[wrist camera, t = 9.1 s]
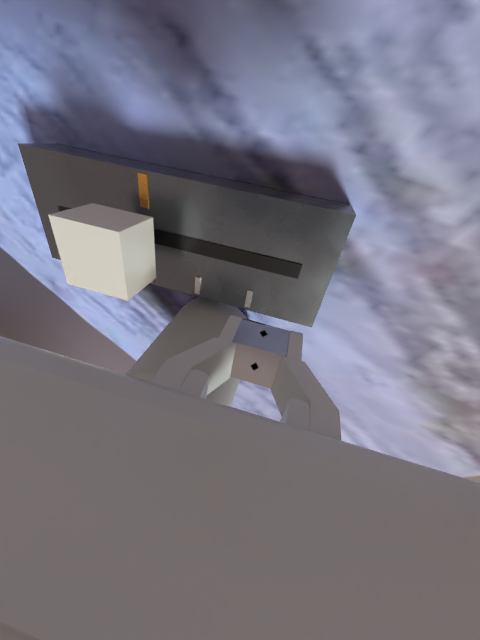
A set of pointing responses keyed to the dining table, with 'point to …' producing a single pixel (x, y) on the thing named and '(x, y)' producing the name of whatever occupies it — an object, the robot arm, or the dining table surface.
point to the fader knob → (105, 249)
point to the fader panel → (205, 228)
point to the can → (189, 342)
